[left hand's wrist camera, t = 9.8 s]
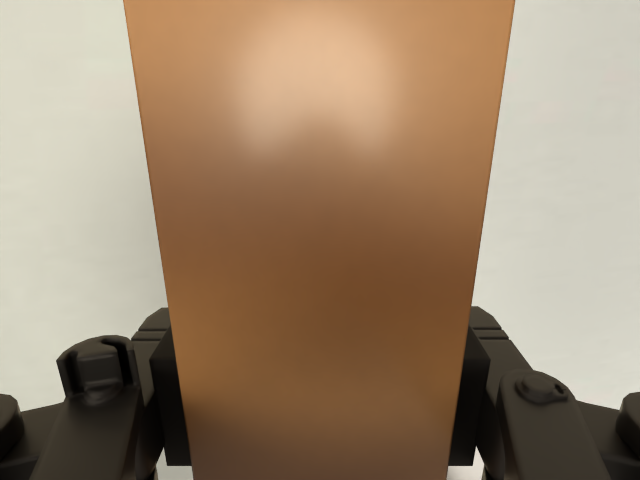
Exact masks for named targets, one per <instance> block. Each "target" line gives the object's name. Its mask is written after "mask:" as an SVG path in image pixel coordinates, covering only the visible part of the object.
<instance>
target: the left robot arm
mask: <svg viewBox="0 0 640 480" xmlns="http://www.w3.org/2000/svg"><path fill="white" fill-rule="evenodd" d="M56 362H57V366H58V369H59V373H60V377H61V381H62V384H63V388H64V392H65V396H66V398H65V400H64V402H62V403H58V404H55V405H51V406H46V407H41V408H37V409H32V410H28V411H23V412H20V409H19V405H18V402H17V400H16V399H14V398H13V397H12V396H11V395H5V394H0V480H158V474H157V469H156V464H157V461H158V459H159V457H160V454H161V452H162V450H163V447H164V450H165V456H166V462H167V466H192V464H191V458H190V451H189V444H188V437H187V430H186V424H185V417H184V410H183V403H182V396H181V390H180V383H179V376H178V369H177V362H176V356H175V349H174V342H173V335H172V328H171V322H170V315H169V308H161V309H159V310H158V311H156V312H155V313H153V314H152V315H150V316H149V317H147V318H146V320H145V321H144V322H143V324H142V325H141V326H140V328H139V329H138V331H137V332H136V333H135V334H134V336H133V337H132V338H131V340H129V339H128V338H127V337H123V336H118V335H105V336H99V337H95V338H90V339H87V340H85V341H82V342H80V343H77V344H75V345H73V346H72V347H70V348H69V349H67V350H66V351H64V352H63V353H62V354H61V355H60V357H59V358H58V359H57V360H56ZM476 446H477V448H478V451H479V453H480V455H481V458H482V460H483V462H484V469H483V474H482V480H640V392H636V393H629V394H628V395H627V396H626V397H625V398H623V401H622V404H621V407H620V410H616V409H612V408H607V407H602V406H598V405H593V404H588V403H584V402H581V401H577V400H576V399H575V397H574V395H573V394H572V393H571V391H570V390H569V389H568V387H567V386H565V385H564V384H563V383H561V382H560V381H559V380H557V379H556V378H554V377H551V376H549V375H547V374H545V373H543V372H539V371H535V370H533V369H532V368H531V366H530V365H529V364H528V362H527V361H526V360H525V358H524V357H523V356H522V354H521V353H520V352H519V350H518V349H517V348H516V346H515V345H514V344H513V342H512V341H511V340H509V337H508V336H507V334H506V333H505V332H504V330H502V329H501V326H500V325H499V324H498V322H497V321H496V320H495V318H494V317H493V316H492V315H490V314H489V313H487V312H486V311H484V310H483V309H481V308H480V307H478V306H471V311H470V318H469V325H468V332H467V338H466V345H465V352H464V359H463V366H462V373H461V380H460V387H459V394H458V401H457V408H456V415H455V422H454V429H453V436H452V443H451V449H450V456H449V463H448V466H473V460H474V455H475V449H476Z"/></svg>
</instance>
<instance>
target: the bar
mask: <svg viewBox="0 0 640 480" xmlns="http://www.w3.org/2000/svg"><path fill="white" fill-rule="evenodd" d="M123 2H124V9H125V16H126V23H127V29H128V36H129V43H130V50H131V56H132V63H133V70H134V77H135V84H136V90H137V97H138V104H139V111H140V118H141V124H142V131H143V138H144V145H145V152H146V158H147V165H148V172H149V179H150V186H151V192H152V199H153V206H154V213H155V220H156V226H157V233H158V240H159V247H160V254H161V260H162V267H163V274H164V281H165V288H166V294H167V301H168V308H169V315H170V322H171V328H172V335H173V342H174V349H175V356H176V362H177V369H178V376H179V383H180V390H181V396H182V403H183V410H184V417H185V424H186V430H187V437H188V444H189V451H190V458H191V464H192V471H193V478H194V480H446V477H447V470H448V463H449V456H450V449H451V443H452V436H453V429H454V422H455V415H456V408H457V401H458V394H459V387H460V380H461V373H462V366H463V359H464V352H465V345H466V338H467V332H468V325H469V318H470V311H471V304H472V297H473V290H474V283H475V276H476V269H477V262H478V255H479V248H480V241H481V234H482V227H483V221H484V214H485V207H486V200H487V193H488V186H489V179H490V172H491V165H492V158H493V151H494V144H495V137H496V130H497V123H498V116H499V109H500V103H501V96H502V89H503V82H504V75H505V68H506V61H507V54H508V47H509V40H510V33H511V26H512V19H513V12H514V5H515V0H123Z"/></svg>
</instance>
